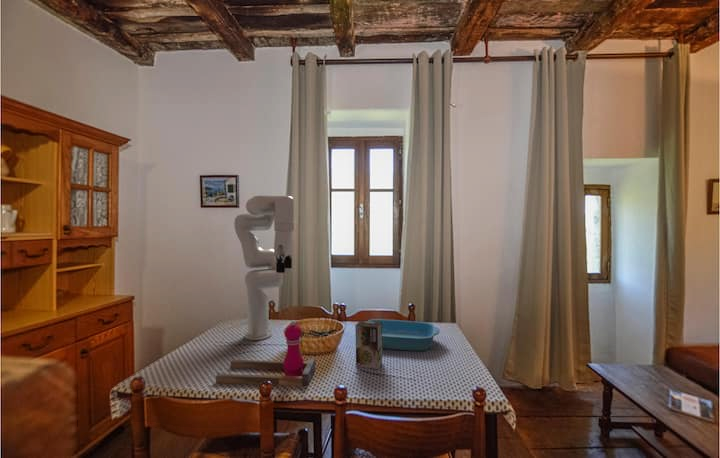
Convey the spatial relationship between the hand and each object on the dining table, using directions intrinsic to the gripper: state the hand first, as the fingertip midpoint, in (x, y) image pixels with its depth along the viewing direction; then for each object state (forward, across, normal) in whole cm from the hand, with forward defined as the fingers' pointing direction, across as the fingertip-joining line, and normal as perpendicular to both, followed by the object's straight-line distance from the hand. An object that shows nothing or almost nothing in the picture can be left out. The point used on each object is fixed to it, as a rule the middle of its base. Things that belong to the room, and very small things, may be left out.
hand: (284, 270), depth 134 cm
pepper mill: (+36, +15, +8) cm, 39 cm away
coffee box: (+36, +4, +34) cm, 50 cm away
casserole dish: (+36, -20, +46) cm, 62 cm away
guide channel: (+36, +15, -2) cm, 39 cm away
